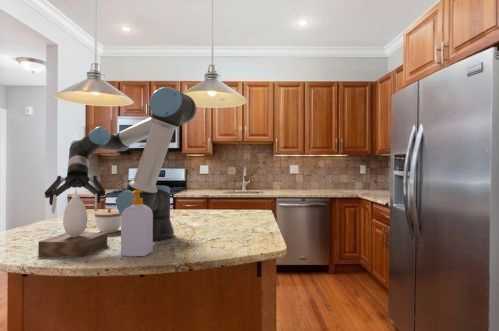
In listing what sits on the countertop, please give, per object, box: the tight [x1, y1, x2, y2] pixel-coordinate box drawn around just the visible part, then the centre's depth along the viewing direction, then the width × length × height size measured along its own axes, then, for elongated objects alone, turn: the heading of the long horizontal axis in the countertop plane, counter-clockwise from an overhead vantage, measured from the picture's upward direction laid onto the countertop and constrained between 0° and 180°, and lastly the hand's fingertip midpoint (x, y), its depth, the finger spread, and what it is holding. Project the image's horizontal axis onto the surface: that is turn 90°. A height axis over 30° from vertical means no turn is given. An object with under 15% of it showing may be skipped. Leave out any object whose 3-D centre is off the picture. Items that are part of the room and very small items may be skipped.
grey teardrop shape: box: [62, 189, 88, 237], centre depth 112 cm, size 8×8×18 cm
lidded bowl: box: [94, 208, 121, 234], centre depth 145 cm, size 13×13×11 cm
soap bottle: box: [120, 190, 154, 257], centre depth 108 cm, size 9×7×23 cm
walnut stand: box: [37, 231, 108, 258], centre depth 112 cm, size 16×16×5 cm
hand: (75, 210), depth 111 cm, fingers open, 13 cm apart
